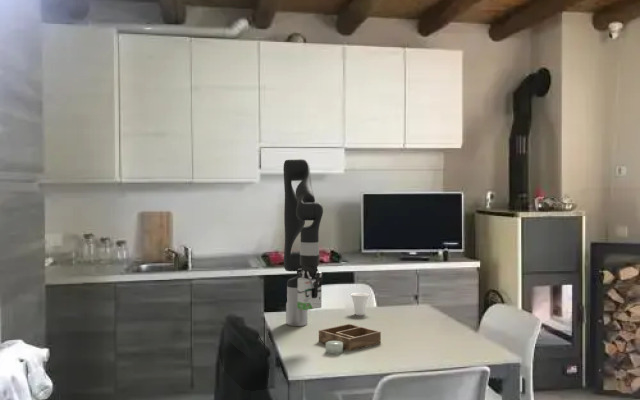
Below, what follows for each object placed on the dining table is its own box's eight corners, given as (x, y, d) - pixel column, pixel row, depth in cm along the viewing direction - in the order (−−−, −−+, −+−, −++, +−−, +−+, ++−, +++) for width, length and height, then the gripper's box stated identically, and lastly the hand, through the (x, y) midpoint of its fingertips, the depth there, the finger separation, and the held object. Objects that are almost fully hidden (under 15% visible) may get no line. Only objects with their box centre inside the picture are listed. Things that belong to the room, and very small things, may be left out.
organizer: (318, 341, 231) (318, 330, 231) (349, 334, 242) (349, 323, 242) (349, 351, 218) (349, 339, 218) (380, 343, 229) (380, 331, 229)
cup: (370, 316, 277) (370, 295, 277) (351, 316, 277) (351, 295, 277) (369, 312, 286) (369, 292, 286) (350, 312, 286) (350, 292, 286)
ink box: (303, 310, 221) (303, 279, 220) (296, 308, 225) (296, 278, 225) (322, 307, 225) (322, 277, 225) (315, 305, 230) (315, 276, 229)
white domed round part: (322, 352, 217) (322, 342, 217) (335, 348, 221) (335, 339, 221) (333, 355, 212) (333, 346, 212) (346, 352, 216) (346, 343, 216)
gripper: (290, 252, 228) (290, 295, 228) (313, 256, 217) (314, 300, 217) (305, 251, 233) (305, 293, 233) (328, 254, 222) (329, 298, 222)
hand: (309, 296), depth 225 cm, fingers closed on ink box, 5 cm apart
